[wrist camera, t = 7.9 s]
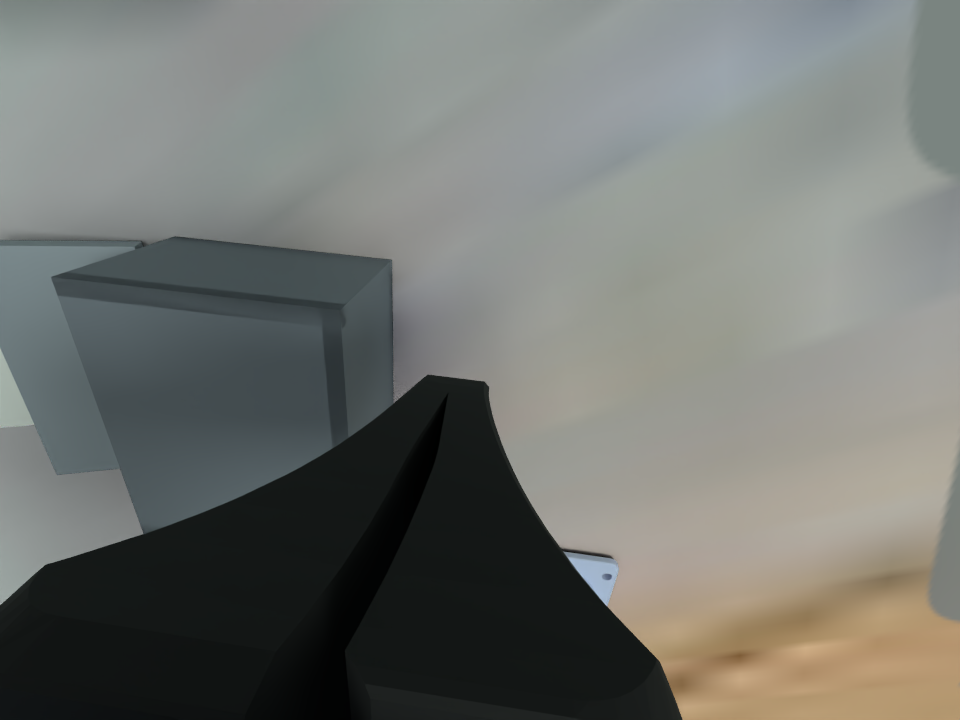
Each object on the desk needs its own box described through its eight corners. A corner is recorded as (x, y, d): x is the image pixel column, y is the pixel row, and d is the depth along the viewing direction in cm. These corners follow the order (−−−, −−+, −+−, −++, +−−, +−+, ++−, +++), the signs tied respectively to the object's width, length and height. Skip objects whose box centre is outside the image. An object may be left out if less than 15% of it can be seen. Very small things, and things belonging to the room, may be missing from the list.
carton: (393, 473, 24) (356, 566, 19) (223, 450, 24) (143, 534, 19) (391, 260, 18) (340, 310, 14) (175, 236, 19) (50, 277, 14)
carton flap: (191, 461, 23) (-39, 484, 21) (195, 450, 24) (-28, 472, 21) (134, 246, 18) (-178, 244, 16) (141, 241, 19) (-157, 238, 16)
